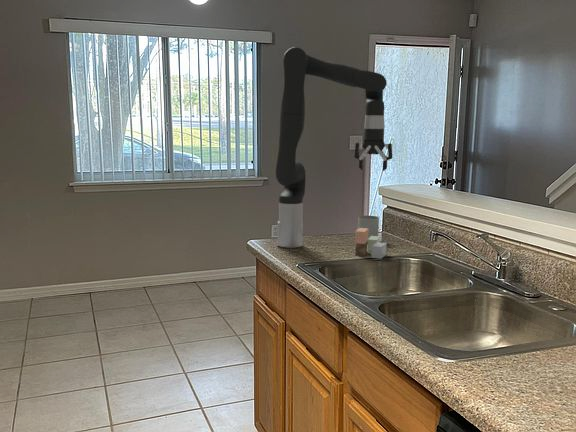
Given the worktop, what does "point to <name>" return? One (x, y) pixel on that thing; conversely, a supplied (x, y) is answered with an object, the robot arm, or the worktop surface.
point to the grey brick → (379, 250)
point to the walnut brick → (361, 249)
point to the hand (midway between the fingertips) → (372, 170)
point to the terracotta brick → (361, 235)
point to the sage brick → (372, 241)
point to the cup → (369, 224)
